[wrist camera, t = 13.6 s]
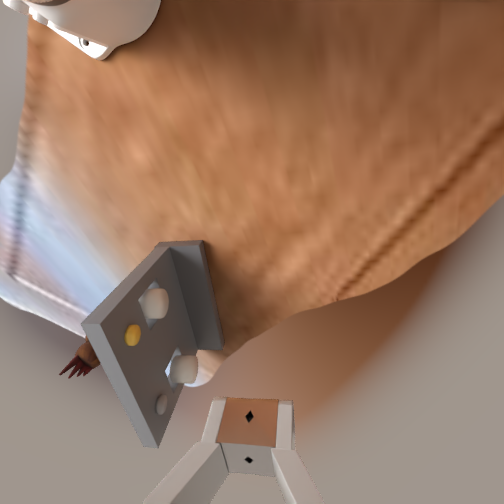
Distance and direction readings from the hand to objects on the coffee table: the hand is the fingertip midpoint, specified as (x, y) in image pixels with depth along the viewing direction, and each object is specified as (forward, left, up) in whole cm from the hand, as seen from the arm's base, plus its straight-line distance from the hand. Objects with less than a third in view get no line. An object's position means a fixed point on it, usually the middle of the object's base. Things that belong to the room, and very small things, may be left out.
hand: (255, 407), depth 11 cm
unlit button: (-3, -33, -26) cm, 42 cm away
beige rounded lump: (-11, -22, -26) cm, 36 cm away
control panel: (-6, -27, -35) cm, 45 cm away
